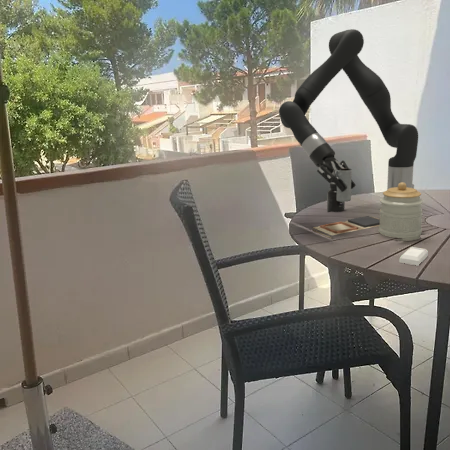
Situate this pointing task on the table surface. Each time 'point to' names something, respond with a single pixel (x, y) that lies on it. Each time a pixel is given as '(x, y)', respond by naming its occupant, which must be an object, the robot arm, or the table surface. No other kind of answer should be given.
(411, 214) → the jar
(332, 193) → the supplement bottle
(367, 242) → the table surface
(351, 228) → the board
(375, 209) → the table surface
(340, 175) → the grey tumbler
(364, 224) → the pad
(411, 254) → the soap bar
